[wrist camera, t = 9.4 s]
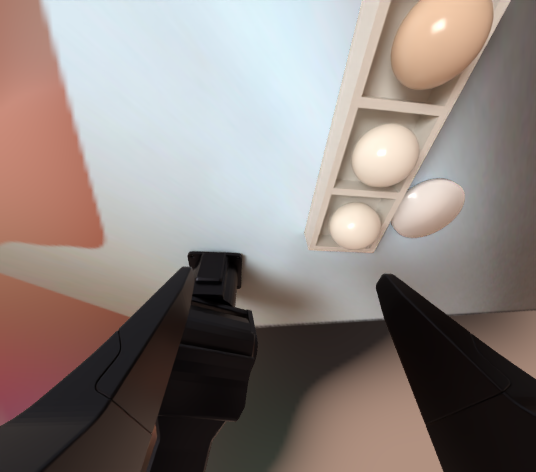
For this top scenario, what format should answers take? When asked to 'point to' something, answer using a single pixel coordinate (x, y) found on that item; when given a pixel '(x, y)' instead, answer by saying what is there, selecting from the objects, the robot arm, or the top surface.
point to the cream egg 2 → (385, 155)
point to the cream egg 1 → (354, 225)
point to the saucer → (428, 207)
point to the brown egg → (439, 41)
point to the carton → (377, 119)
